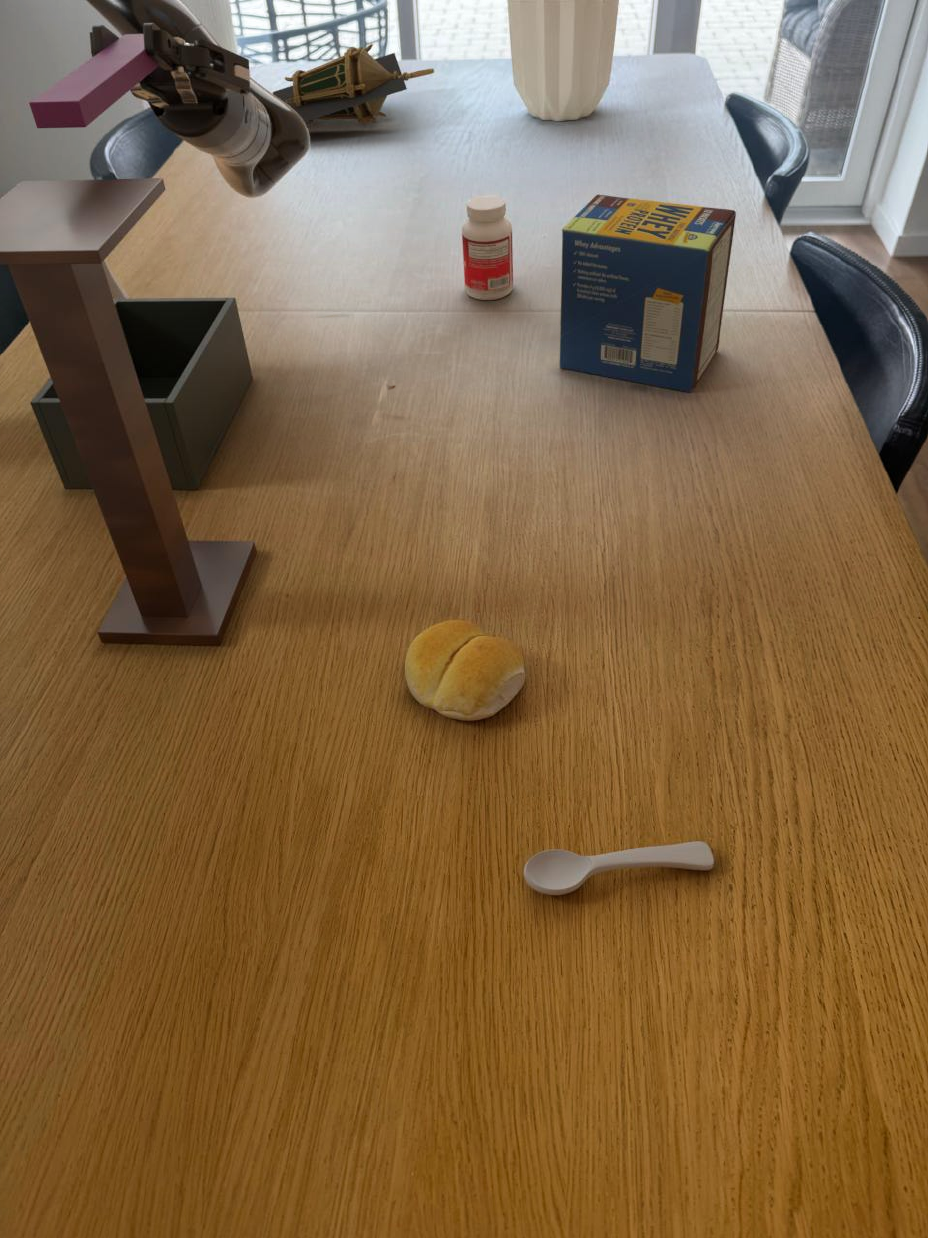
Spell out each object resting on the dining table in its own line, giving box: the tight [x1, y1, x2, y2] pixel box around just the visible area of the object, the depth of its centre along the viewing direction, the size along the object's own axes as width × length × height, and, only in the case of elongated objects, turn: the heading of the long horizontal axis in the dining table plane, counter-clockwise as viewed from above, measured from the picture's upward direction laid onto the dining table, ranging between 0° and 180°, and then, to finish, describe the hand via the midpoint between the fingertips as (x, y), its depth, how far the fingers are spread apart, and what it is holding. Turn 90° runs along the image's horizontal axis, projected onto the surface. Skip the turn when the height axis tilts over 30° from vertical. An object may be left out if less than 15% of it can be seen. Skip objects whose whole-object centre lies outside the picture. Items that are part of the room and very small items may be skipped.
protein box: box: [558, 194, 737, 393], centre depth 103 cm, size 10×15×16 cm
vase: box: [507, 0, 620, 122], centre depth 167 cm, size 20×20×28 cm
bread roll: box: [404, 619, 527, 722], centre depth 72 cm, size 8×9×4 cm
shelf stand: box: [0, 177, 258, 647], centre depth 71 cm, size 10×12×32 cm
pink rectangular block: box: [28, 34, 159, 129], centre depth 70 cm, size 3×18×2 cm, turn 175°
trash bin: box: [29, 297, 254, 491], centre depth 99 cm, size 14×22×10 cm, turn 175°
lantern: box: [272, 43, 435, 125], centre depth 175 cm, size 14×23×30 cm
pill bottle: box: [461, 194, 514, 301], centre depth 119 cm, size 6×6×11 cm
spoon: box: [522, 840, 715, 896], centre depth 60 cm, size 3×12×2 cm, turn 97°
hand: (123, 38), depth 72 cm, fingers closed on pink rectangular block, 3 cm apart
